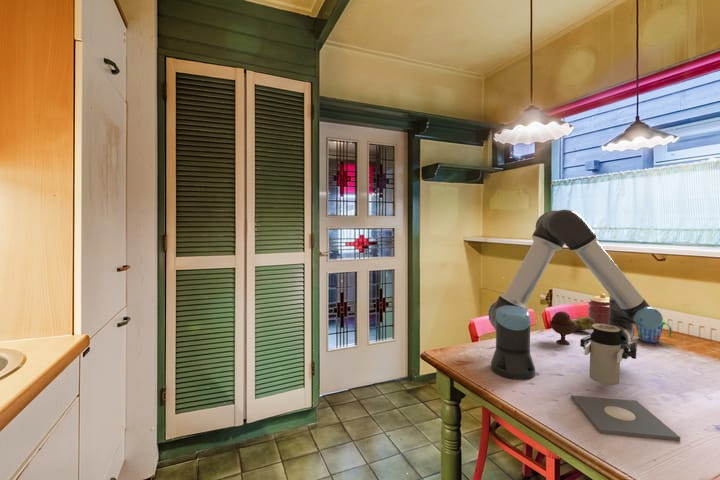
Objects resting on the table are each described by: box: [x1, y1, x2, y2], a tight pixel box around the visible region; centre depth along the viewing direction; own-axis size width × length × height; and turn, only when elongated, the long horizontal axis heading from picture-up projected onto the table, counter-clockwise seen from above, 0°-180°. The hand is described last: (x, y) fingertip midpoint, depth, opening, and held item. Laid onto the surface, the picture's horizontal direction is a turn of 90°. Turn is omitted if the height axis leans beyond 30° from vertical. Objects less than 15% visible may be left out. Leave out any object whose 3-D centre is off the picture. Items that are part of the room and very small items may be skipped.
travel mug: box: [588, 324, 621, 387], centre depth 110 cm, size 8×8×18 cm
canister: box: [587, 292, 610, 325], centre depth 178 cm, size 13×13×18 cm
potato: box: [571, 316, 595, 332], centre depth 170 cm, size 8×13×8 cm, turn 42°
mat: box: [570, 394, 681, 442], centre depth 94 cm, size 18×18×1 cm
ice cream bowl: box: [549, 310, 577, 346], centre depth 153 cm, size 11×11×15 cm
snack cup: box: [635, 320, 673, 344], centre depth 155 cm, size 16×10×10 cm
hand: (601, 354), depth 106 cm, fingers closed on travel mug, 8 cm apart
